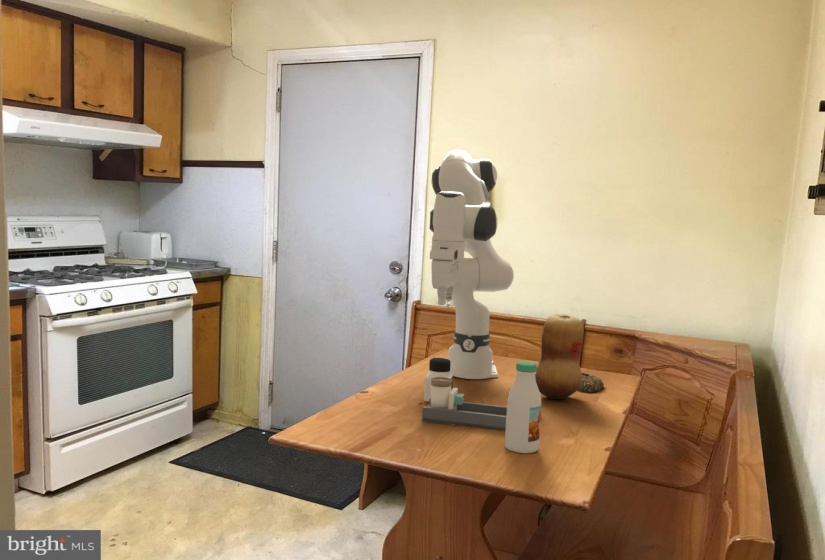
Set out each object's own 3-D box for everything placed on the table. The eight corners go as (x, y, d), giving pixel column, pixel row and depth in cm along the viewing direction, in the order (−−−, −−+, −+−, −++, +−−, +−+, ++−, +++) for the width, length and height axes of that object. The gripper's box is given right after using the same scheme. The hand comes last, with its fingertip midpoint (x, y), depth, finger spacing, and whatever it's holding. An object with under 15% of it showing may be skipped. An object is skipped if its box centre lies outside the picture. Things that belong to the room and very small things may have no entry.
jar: (431, 409, 171) (433, 376, 170) (452, 411, 170) (453, 378, 169) (428, 415, 165) (429, 381, 165) (449, 417, 164) (450, 383, 163)
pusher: (452, 410, 170) (453, 387, 169) (464, 412, 169) (465, 388, 169) (447, 417, 164) (449, 393, 163) (460, 419, 163) (461, 395, 163)
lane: (429, 410, 173) (430, 381, 172) (519, 421, 167) (521, 391, 166) (422, 421, 164) (423, 390, 163) (516, 432, 159) (518, 400, 158)
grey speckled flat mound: (608, 388, 206) (609, 373, 206) (591, 395, 197) (592, 379, 196) (571, 380, 214) (572, 365, 214) (554, 387, 205) (555, 371, 204)
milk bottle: (516, 455, 143) (521, 368, 141) (498, 444, 150) (503, 360, 148) (545, 452, 146) (550, 366, 144) (526, 440, 153) (531, 358, 151)
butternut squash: (560, 407, 181) (566, 320, 179) (524, 396, 191) (529, 313, 189) (590, 400, 190) (596, 317, 187) (553, 389, 200) (558, 310, 198)
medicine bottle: (448, 404, 180) (450, 362, 179) (423, 401, 181) (425, 360, 180) (452, 397, 187) (454, 357, 186) (428, 395, 188) (430, 355, 187)
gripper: (443, 249, 183) (441, 297, 185) (428, 252, 163) (425, 306, 165) (465, 250, 182) (463, 298, 183) (452, 254, 162) (449, 308, 163)
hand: (445, 302), depth 174 cm, fingers open, 8 cm apart
